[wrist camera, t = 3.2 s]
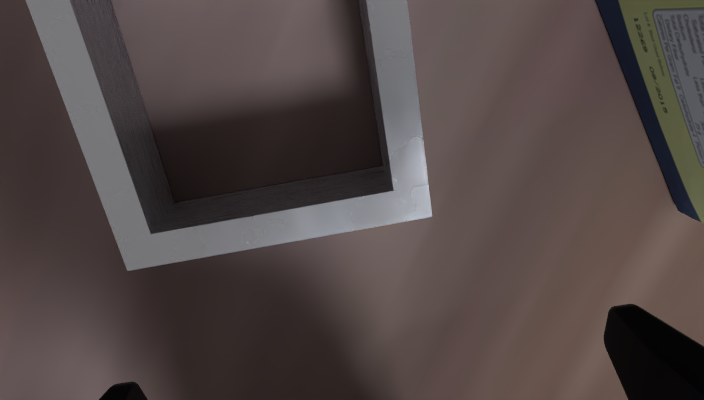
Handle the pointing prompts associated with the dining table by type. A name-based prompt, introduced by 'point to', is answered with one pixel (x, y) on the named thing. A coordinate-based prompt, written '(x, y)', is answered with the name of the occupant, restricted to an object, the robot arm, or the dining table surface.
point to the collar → (243, 206)
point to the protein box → (666, 85)
